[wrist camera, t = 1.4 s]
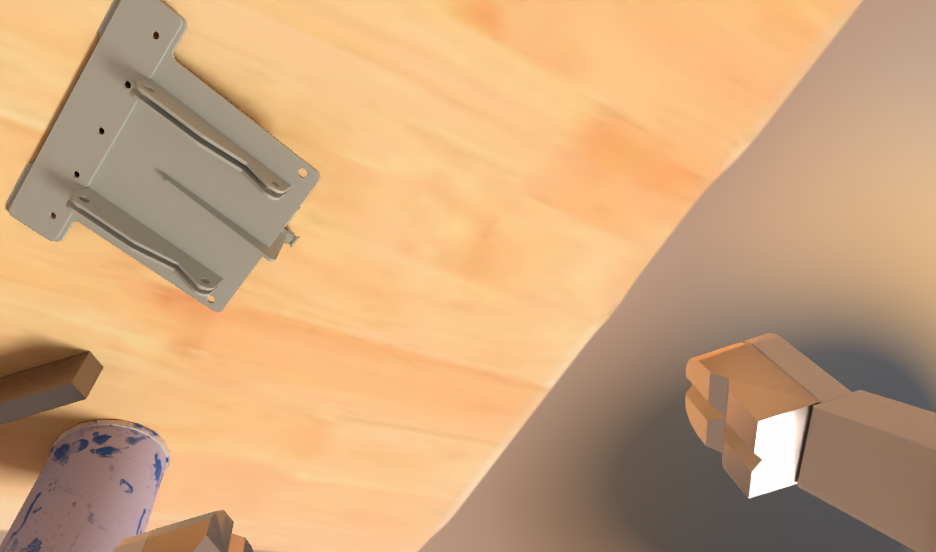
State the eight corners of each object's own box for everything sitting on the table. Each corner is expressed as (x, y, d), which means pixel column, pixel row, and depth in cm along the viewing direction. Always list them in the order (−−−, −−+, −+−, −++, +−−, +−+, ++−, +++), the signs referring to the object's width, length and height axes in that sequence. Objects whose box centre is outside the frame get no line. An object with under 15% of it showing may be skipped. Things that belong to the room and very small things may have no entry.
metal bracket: (349, 163, 26) (200, 359, 30) (368, 147, 32) (240, 315, 36) (82, -50, 23) (-44, 205, 27) (156, -26, 28) (41, 182, 32)
